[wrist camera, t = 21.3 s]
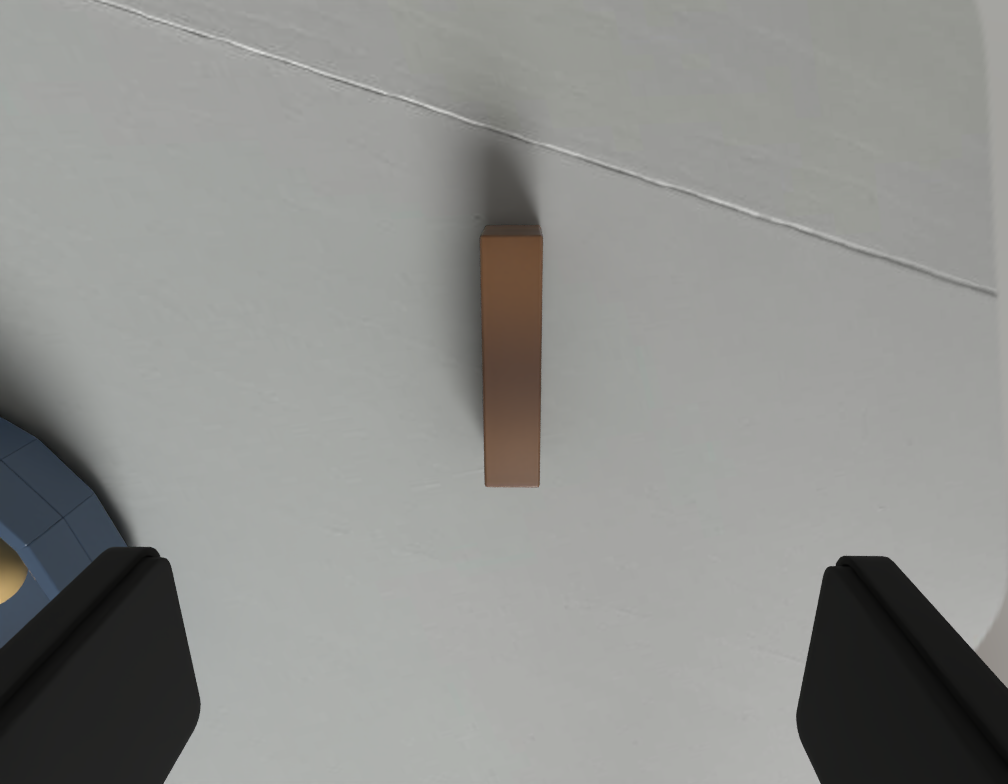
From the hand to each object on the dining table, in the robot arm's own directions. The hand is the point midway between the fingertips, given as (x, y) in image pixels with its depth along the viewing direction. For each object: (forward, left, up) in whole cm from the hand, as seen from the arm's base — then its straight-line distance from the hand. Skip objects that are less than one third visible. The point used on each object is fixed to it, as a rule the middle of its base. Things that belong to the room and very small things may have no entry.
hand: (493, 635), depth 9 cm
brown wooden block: (0, 0, -16) cm, 16 cm away
